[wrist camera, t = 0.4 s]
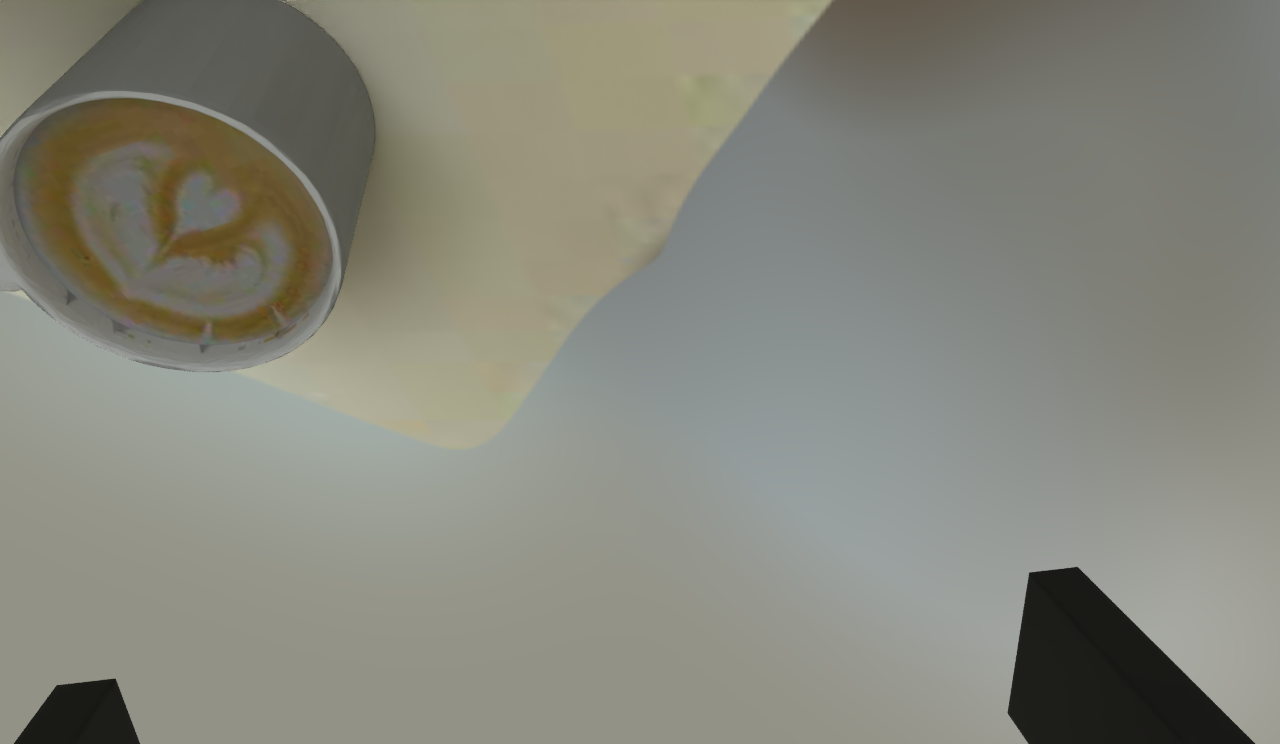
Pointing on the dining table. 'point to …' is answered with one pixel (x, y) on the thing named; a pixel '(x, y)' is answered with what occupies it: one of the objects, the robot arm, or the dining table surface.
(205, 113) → the coffee mug
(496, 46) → the dining table surface
